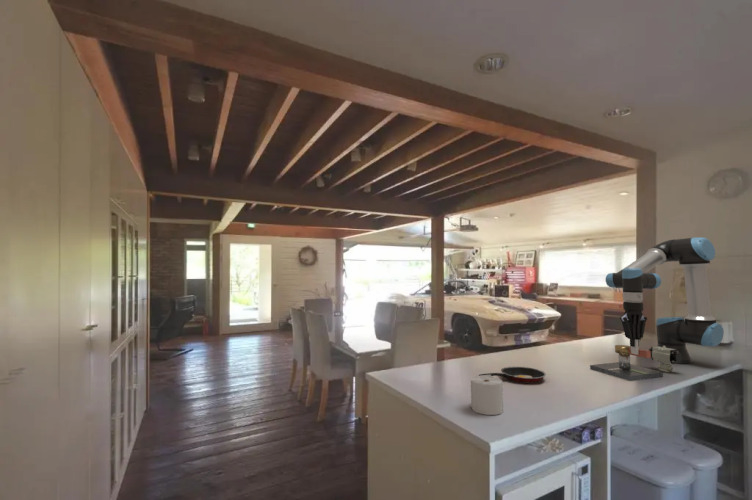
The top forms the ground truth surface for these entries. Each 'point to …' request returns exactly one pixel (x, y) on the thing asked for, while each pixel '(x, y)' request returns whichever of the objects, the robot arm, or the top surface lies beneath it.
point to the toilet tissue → (486, 395)
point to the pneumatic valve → (665, 357)
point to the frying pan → (521, 374)
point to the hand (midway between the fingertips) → (634, 353)
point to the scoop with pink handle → (627, 350)
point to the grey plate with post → (626, 369)
